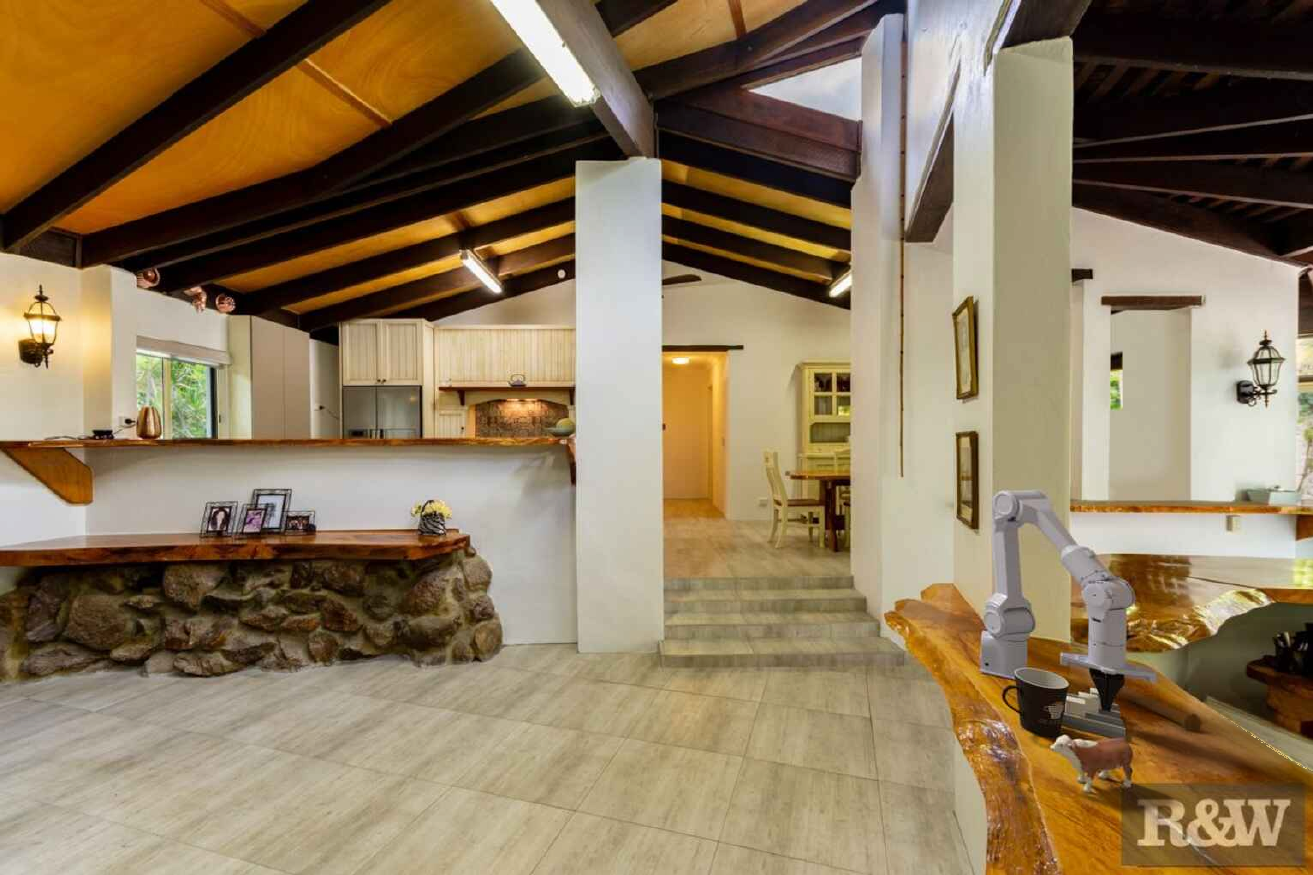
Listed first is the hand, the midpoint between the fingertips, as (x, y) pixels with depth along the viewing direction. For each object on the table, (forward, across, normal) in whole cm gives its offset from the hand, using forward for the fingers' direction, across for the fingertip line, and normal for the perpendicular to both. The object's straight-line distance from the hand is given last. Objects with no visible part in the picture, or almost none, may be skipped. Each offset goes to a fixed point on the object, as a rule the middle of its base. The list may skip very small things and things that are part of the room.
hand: (1105, 708), depth 108 cm
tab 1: (+2, -5, -3) cm, 6 cm away
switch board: (+3, -3, 0) cm, 4 cm away
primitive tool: (+4, +8, +14) cm, 16 cm away
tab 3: (+2, -1, +4) cm, 4 cm away
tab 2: (+2, -3, 0) cm, 3 cm away
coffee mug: (+3, -12, -10) cm, 16 cm away
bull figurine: (+3, -4, -24) cm, 25 cm away
